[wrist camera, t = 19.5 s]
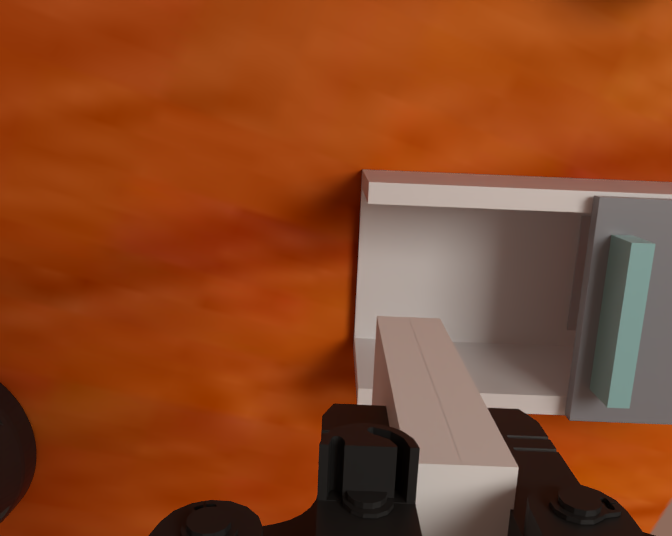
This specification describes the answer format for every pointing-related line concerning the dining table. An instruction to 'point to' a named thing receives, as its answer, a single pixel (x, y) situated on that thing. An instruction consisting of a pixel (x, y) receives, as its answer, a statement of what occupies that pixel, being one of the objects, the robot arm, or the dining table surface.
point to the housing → (482, 273)
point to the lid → (625, 315)
